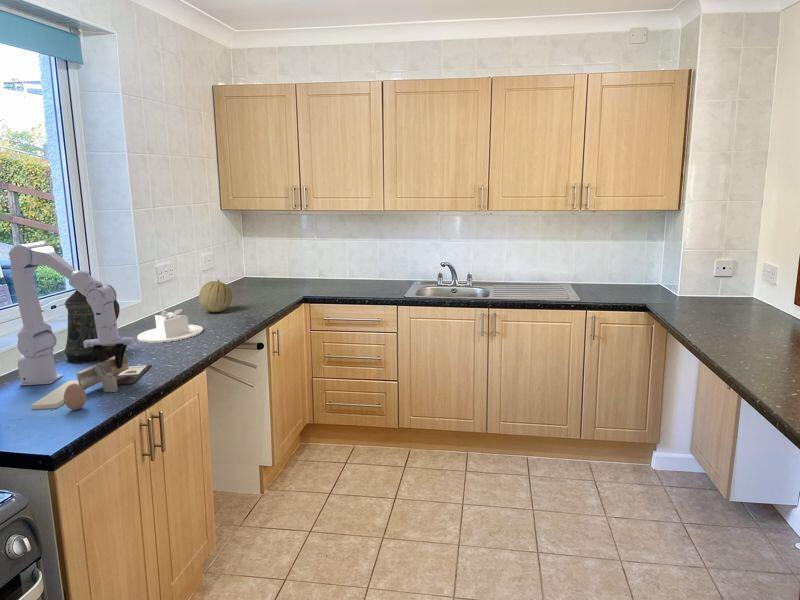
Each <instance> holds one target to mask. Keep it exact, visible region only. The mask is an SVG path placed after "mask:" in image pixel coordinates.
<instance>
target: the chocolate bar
mask: <svg viewBox="0 0 800 600" xmlns="http://www.w3.org/2000/svg"><path fill="white" fill-rule="evenodd" d="M128 367H129V369H127V370H125V371H123V372H121V373H119V374H117V375H115V376H113V377H116V380H117V387H121V386H120V385H124V386H133V385H132V384H134V385H135V384H136V383H137V382H138V381H139V380H140V379H141V378H142V377H143V376H144V375H145V374H146V373H145V372H148V371H149V369H151V367H152V364H146V365H144V364H143V365H134V366H130V365H129V366H128ZM144 373H145V374H144ZM143 374H144V375H143ZM142 375H143V376H142ZM141 376H142V377H141ZM140 377H141V378H140ZM139 378H140V379H139ZM138 379H139V380H138ZM137 380H138V381H137ZM136 381H137V382H136Z"/></svg>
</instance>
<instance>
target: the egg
mask: <svg viewBox="0 0 800 600" xmlns="http://www.w3.org/2000/svg"><path fill="white" fill-rule="evenodd" d="M64 402H65V403H64V404H65V406H66V407H67V408H69V410H72V411H78V409H79V410H80V409H82V408H83V407H84V406H85V404H86V402H87V394H86V390H85V389H83V388H82V387H81V386H80V385H78V384H71V385H69V386H68V387H67V388H66V390H65V393H64Z"/></svg>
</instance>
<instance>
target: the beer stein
mask: <svg viewBox="0 0 800 600" xmlns="http://www.w3.org/2000/svg"><path fill="white" fill-rule="evenodd" d="M86 298H87V297H85V296H84V295H83V294H81V293H80V292H79V291H77V290H76V289H75V291H74V292H73V293H72V294H71V295H70V296H69V297H68V298H67V299H66V300H65V302H64V306H65V309H67V335H66V336H67V337H66V343H65V348H64V354H65V357H66V359H67V361H68V362H69V363H71V362H74V364H82V363H81V362H86V363H92V362H91V361H93V362H96V361H97V360H98V361H99V359H98V358H97V356H96V355H95V354H94V353H93V352H92V349H93V348H94V347H86V348H84V344H83V341H85V340H91V339H98V337H97V331H96V324H95V318H94V313H93V311H92V308H91V306H90V305H89V304H88V302H87V300H86ZM113 303H114V310H115V316H116V322H117V320H118V318H119V316H120V308H121V307H120V304H119V302H118V300H117V298H116V299H115V301H114V302H113ZM113 347H115V345H111V346H107V357H109V358H111V357H113V356H115V355H114V353H113V350H112V348H113ZM112 355H113V356H112ZM110 356H111V357H110ZM98 361H97V362H98Z"/></svg>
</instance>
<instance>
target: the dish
mask: <svg viewBox="0 0 800 600" xmlns="http://www.w3.org/2000/svg"><path fill="white" fill-rule="evenodd" d="M182 312H183V309H181V308H179V309H176V310H174V312H172V311H171V312H168V311H167V310H161V314H155V315H154V318H155V319H154V322H155V325H156V326H155V328H151V329H148V330H145V331H142V332H140V333H139V334H137V336H136V337H137V341H138V340H139V341H138V342H140V341H142V342H148V343H147V344H164V343H163V342H167V343H172V342H171V341H175V342H179V341H178V340H180V341H183V340H182V339H185V340H188V339H187V338H189V339H191V338H190V337H192V338H194V337H193V336H195V337H196V335H197V336H199V335H201V334H202V333H203V332H204V328H203V327H202V325H197V324H189V319H188V315H185V314H184V315H183V314H182V315H179V314H180V313H182ZM202 331H203V332H202ZM201 332H202V333H201ZM200 333H201V334H200ZM198 334H199V335H198ZM142 342H141V343H142Z"/></svg>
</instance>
